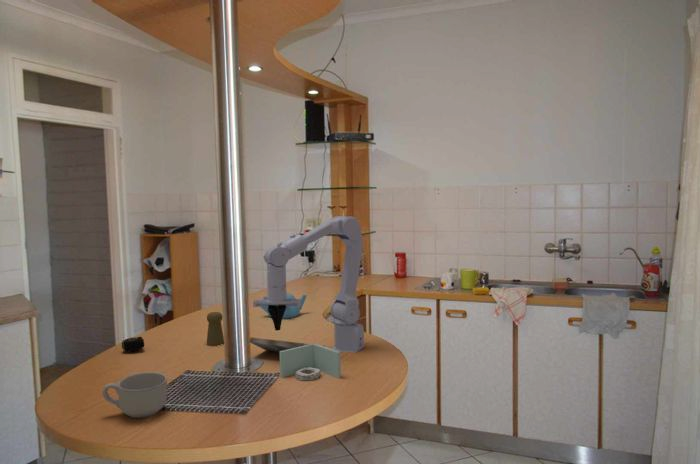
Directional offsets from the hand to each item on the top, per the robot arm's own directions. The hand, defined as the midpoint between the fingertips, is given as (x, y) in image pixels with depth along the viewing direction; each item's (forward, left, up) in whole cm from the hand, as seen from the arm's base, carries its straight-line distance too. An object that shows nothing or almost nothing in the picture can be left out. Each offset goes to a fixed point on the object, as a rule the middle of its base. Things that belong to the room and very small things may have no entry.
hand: (277, 329), depth 158 cm
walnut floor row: (0, -11, -9) cm, 14 cm away
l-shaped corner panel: (-17, +11, -10) cm, 22 cm away
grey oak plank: (0, -7, -8) cm, 11 cm away
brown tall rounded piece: (+30, -7, -10) cm, 32 cm away
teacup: (+9, +47, -10) cm, 49 cm away
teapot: (+31, -53, -10) cm, 62 cm away
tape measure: (+47, +9, -9) cm, 49 cm away
